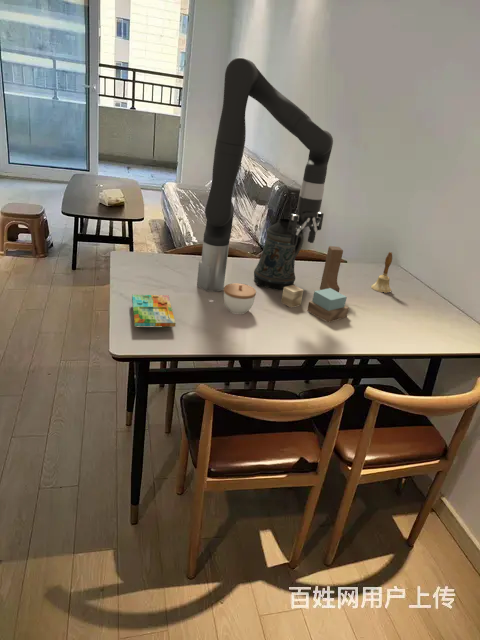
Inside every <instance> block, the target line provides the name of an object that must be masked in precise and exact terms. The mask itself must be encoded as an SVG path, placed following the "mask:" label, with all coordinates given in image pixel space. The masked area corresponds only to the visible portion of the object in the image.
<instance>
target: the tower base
mask: <svg viewBox="0 0 480 640" xmlns="http://www.w3.org/2000/svg"><path fill="white" fill-rule="evenodd" d="M307 305H308V306H307V311H306V312H309V313H310V314H312V315H314V316H316V317H318V318H319V319H321V320H323V321H325V322H327V323H331V322H334V321H338V320H342V319H344V318H347V317H348V313H349V310H350V307H348V306H346V305H345V307H343V308H339V309H335V310H330V311H328V310H326V309H324V308H322V307H321V306H319V305H317V304H315V303H314V302H312V300H311V301H308V304H307Z"/></svg>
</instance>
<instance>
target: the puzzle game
mask: <svg viewBox="0 0 480 640" xmlns="http://www.w3.org/2000/svg"><path fill="white" fill-rule="evenodd" d="M131 302H132V303H131V304H132V314H133V324H134V327H137V326H162V327H161V328H171V327H176V325H177V323H176V319H175V315H174V311H173V309H172V304H171V300H170V296H169V295H168V294H166V295H164V294H163V295H162V294H132V295H131Z"/></svg>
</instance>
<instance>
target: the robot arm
mask: <svg viewBox="0 0 480 640" xmlns="http://www.w3.org/2000/svg"><path fill="white" fill-rule="evenodd" d="M249 97H251V98H252V99H253V100H255V101H257V103H259V104H260V105H261V106H263V107H264V108H265V109H266V110H267V111H268V113H270V115H271V116H272V117H273V118H274V119H275V120H276V121H277V122H278V123H279V125H281V126H282V127H283V128H285V129H286V131H288V132H289V133H291V134H292V136H295V138H297V139H298V141H300V142H301V143H302V144H303V146H304V147H305V148H307V150H309V152H308V159H307V162H306V165H305V167H304V172H303V177H302V182H301V185H300V191H299V196H298V202H297V209H298V212H297V213H296V214H294V213H291V214H290V216H289V217H290V218H289V225H288V230H287V231H288V232H291V233H292V235H291V241H290V243H291V244H292V245H294V246H295V245H297V240H298V234H299V232H300V231H301V232H302V231H303V230H304V228H307V227H308V229H309V232H308V236H307V242H308V243H310V244H313V243H315V242H314V241H315V239H316V234H317V233H318V231H321V230H322V227H323V221H324V213H323V212H321V206H322V202H323V197H324V191H325V182H326V177H327V173H328V172H327V171H328V165H329V161H330V158H331V157H330V156H331V153H332V150H333V144H334V140H333V139H334V138H333V136H332V134H331V133H330V132H329V131H327V130H324V129H322V128H321V127H320V126H319V125H317V124H316V123H315V122H314V121H313V120H312V119H311V117H310V116H309V115H308V114H307V113H306V112H305V111H303V110H302V109H301V108H300V107H299V106H298V105H296V104H295V103H294V102H292V101H291V99H289V98H288V97H286V96H285V95H283V94H282V92H280V91H279V90H278V89H276V88H275V87H274V85H272V84H271V83H270V81H269V80H267V78H265V76H264V75H263V73H262V72H260V70H259V68H257V66H256V64H255V63H254V62H253V61H251V60H250V59H247V58H245V57H241V56H240V57H235V58H233V59H232V60H230V62H229V63H228V65H226V69H225V72H224V86H223V102H222V109H221V114H220V119H219V123H218V130H217V136H216V140H215V147H214V155H213V165H212V177H211V186H210V189H209V194H208V198H207V200H206V204H205V208H204V216H205V218H206V224H205V229H204V234H203V240H202V250H201V251H202V252H201V260H200V261H199V262H198V267H197V268H198V269H197V271H198V272H197V279H196V280H197V281H196V286H197V287H199V288H200V289H201V290H203V291H205V292H220V291H224V287H225V281H226V271H227V263H228V255H229V249H230V247H229V246H230V239H231V234H232V227H233V221H234V212H235V207H234V204H233V199H232V198H233V191H234V187H235V182H236V180H237V176H238V173H239V171H240V167H241V164H242V160H243V156H244V150H245V143H246V132H247V131H246V130H247V129H246V110H247V105H248V100H249ZM292 226H293V228H292V229H291V227H292ZM297 228H298V229H297ZM296 229H297V230H296ZM295 230H296V231H295Z"/></svg>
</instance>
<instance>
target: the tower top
mask: <svg viewBox="0 0 480 640" xmlns="http://www.w3.org/2000/svg"><path fill="white" fill-rule="evenodd" d="M347 297H348V296H346V295H344V294H342V293H340V291H339V292H337V291H335V290H333V289H331V288H328V289H323V290H320V289H319V290H314V292H313V296H312V300H311V301H312V302H314V303H315V304H317V305H319V306H321V307H322V308H324V309H326V310H328V311H330V310H335V309H339V308H343V307H345V306H346V302H347Z"/></svg>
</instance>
